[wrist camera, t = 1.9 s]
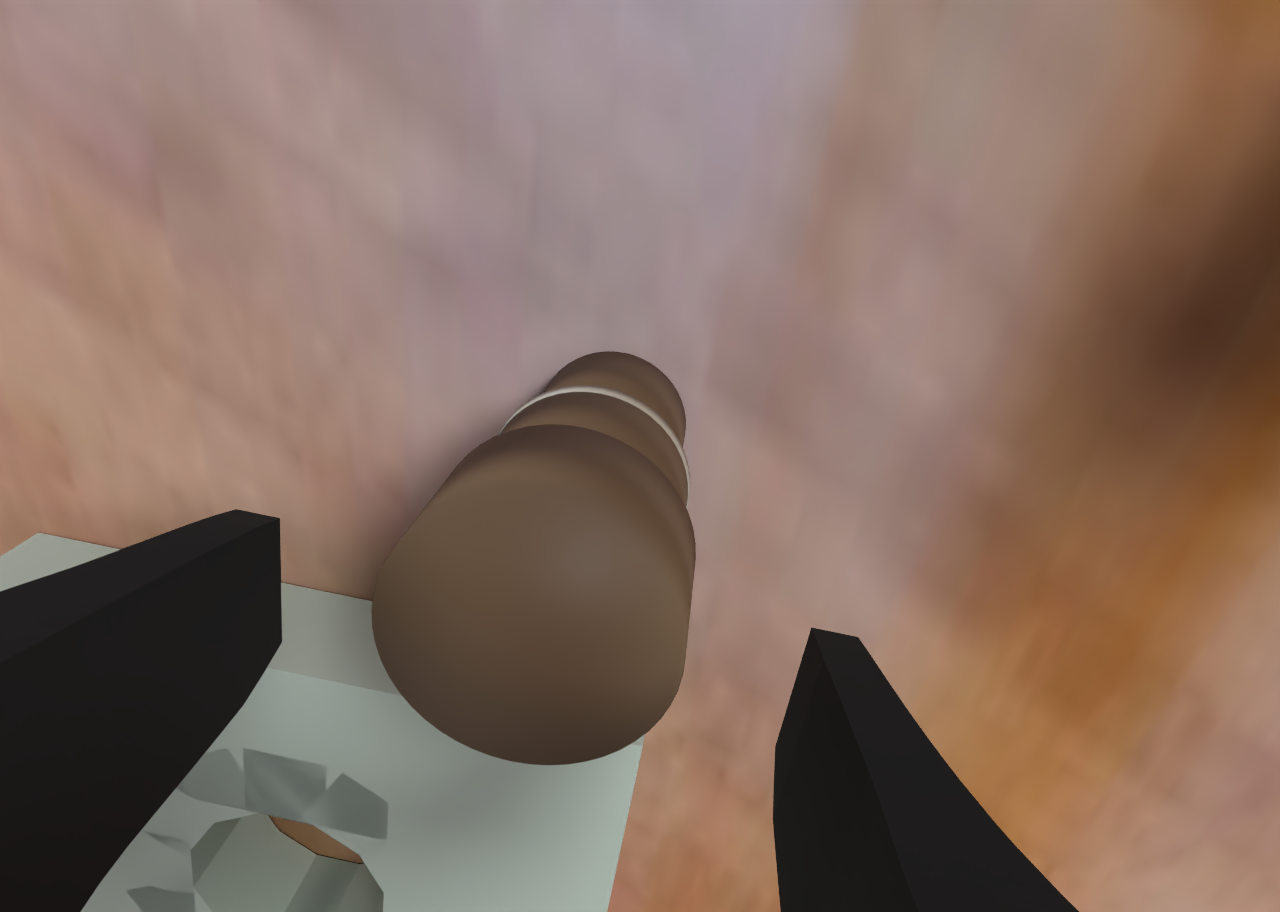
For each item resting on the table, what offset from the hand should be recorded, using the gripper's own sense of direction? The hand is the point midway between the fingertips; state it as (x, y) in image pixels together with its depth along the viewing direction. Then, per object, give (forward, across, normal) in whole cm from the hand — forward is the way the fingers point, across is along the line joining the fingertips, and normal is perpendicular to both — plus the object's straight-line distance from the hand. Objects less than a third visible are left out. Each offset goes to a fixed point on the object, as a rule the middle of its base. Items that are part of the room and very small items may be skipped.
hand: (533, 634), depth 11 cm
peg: (+8, 0, 0) cm, 8 cm away
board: (+8, +6, +13) cm, 16 cm away
